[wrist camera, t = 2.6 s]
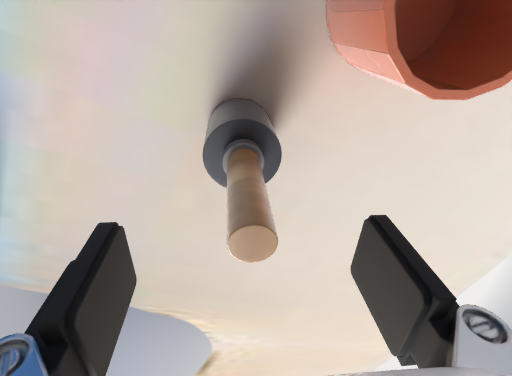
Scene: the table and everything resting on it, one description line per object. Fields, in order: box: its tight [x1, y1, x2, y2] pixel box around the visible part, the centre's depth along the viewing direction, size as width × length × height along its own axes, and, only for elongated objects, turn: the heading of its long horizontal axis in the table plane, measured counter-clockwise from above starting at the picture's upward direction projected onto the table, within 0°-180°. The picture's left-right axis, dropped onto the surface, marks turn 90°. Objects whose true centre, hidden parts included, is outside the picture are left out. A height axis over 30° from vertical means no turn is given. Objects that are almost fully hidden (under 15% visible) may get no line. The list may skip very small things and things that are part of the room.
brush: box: [203, 99, 282, 262], centre depth 16 cm, size 5×5×13 cm
